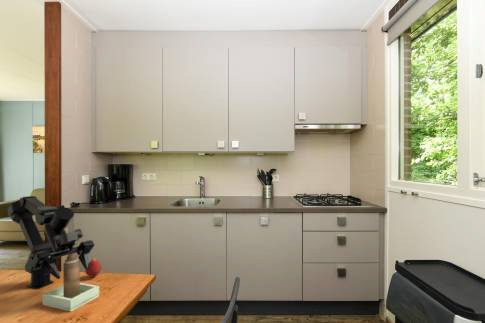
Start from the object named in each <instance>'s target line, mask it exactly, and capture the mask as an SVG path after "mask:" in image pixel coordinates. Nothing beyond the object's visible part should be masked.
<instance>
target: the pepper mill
mask: <svg viewBox="0 0 485 323" xmlns="http://www.w3.org/2000/svg"><path fill="white" fill-rule="evenodd" d="M80 264H81V261H80V260H79V258H78V256H77V255H76V253H73V254H69V255H66V259H65V260H64V263H63V280H62V281H63V284H62V285H64V297H66V298H70V299H72V298H74V297H76V296H78V295H80V283H81V278H80V277H81V276H80V275H81V274H80V271H81V269H80V267H81V266H80Z"/></svg>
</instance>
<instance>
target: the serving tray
mask: <svg viewBox="0 0 485 323" xmlns="http://www.w3.org/2000/svg"><path fill="white" fill-rule="evenodd" d="M98 297H100V286H99V285H94V284H90V283H84V282H80V295H78V296H76V297H74V298H72V299H70V298H66V297H64V284H62V285H60V286H58V287H56V288H54V289H51V290H48V291H47V292H44V293H42V306H47V307H51V308H53V309H54V308H55V309H58V310H62V311H67V312H73V311H74V310H76V309H78V308H80V307H82V306H83V305H85V304H87V303H89V302H91V301H92V300H95V299H97V298H98Z"/></svg>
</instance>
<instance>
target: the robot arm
mask: <svg viewBox="0 0 485 323" xmlns="http://www.w3.org/2000/svg"><path fill="white" fill-rule="evenodd" d="M7 215H8V216H9V217H10V219H11V221H13V222H14V223H16V224H18V225H19V226H20V228H21V231H22V234H23V236H24V239H25V240H26V242H27V245H28V248H29V251H30V252H29V255H28V257H27V261H26V263H25V265H24V270H25V272H26V273H28V274H30V283H29V284H27V285H26V288H31V289H36V290H38V289H41V288H44V287H45V286H48V285H51V284H53V283H55V281H54V280H51V276H53V277H54V278H55V279H57V280H60V278H61V274H60V272H59V270H58V268H57V265H56V263H57V258H61V257H64V256H68V255H70V254H77V258H78V261H80V264H81V265H82V266H83V268H84V269H86V270H87V269H88V263H89V254H90V253H91V251H92V250H93V248H94V247H95V243H94V241H93V239H89V240H88V239H87V240H85V241H81V242H80V244H79V245H78V246H75V245H76V242H77V241H79V240H80V239H81V238H83V237H84V233H83V231H82V229H81V228H78V229H75V230H74V231H72V232H71V231H70V232H66V228H67V227H68V226H69V224H70V223H71V221H72V219H73V218H74V216H75V213H74V211H73V210H72V209H70V208H68V207H65V205H63V204H62V205H57V206H49V205H46V204H45V203H43V202H42V201H41V200H40V199H38V198H37V196H34V195H30V196H22V197H20V198H19V199H18V200H17V201H15V202H12V203H11V204H10V205H9V206H8V208H7ZM33 216H34V217H35V220H34V218H33ZM35 221H36V223H35ZM37 224H38V225H37ZM37 226H45V227H44V231H43V236H46V237H47V239H48V242H47V243H45V240H43V237H42V235H41V233H40V230H39V228H38V227H37ZM74 246H75V247H74Z"/></svg>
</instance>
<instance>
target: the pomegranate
mask: <svg viewBox="0 0 485 323" xmlns="http://www.w3.org/2000/svg"><path fill="white" fill-rule="evenodd" d="M84 269H85V268H84ZM101 270H102V264H101V263H100V262H99V261H97V260H96V258H95V257H94V258H92V259H91V260H90V261H88V269H87V270H86V269H85V274H86V276H88V277H90V278H96V277H97V275H99V274H100V272H101Z"/></svg>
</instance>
